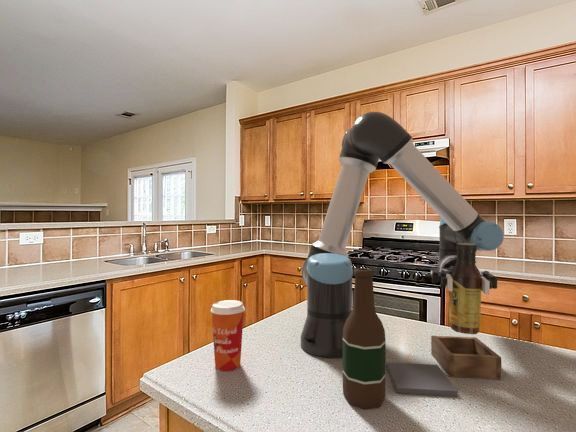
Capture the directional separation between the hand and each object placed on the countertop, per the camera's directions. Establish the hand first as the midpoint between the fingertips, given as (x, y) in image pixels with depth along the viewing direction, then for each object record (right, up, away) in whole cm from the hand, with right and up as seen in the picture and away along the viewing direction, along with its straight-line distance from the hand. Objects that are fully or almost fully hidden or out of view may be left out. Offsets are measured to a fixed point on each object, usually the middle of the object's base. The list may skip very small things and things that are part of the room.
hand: (468, 286), depth 69 cm
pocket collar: (+1, -19, +5) cm, 20 cm away
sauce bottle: (+2, -11, +5) cm, 12 cm away
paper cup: (-52, -19, +5) cm, 56 cm away
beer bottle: (-24, -19, -9) cm, 32 cm away
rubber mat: (-11, -19, -2) cm, 22 cm away
